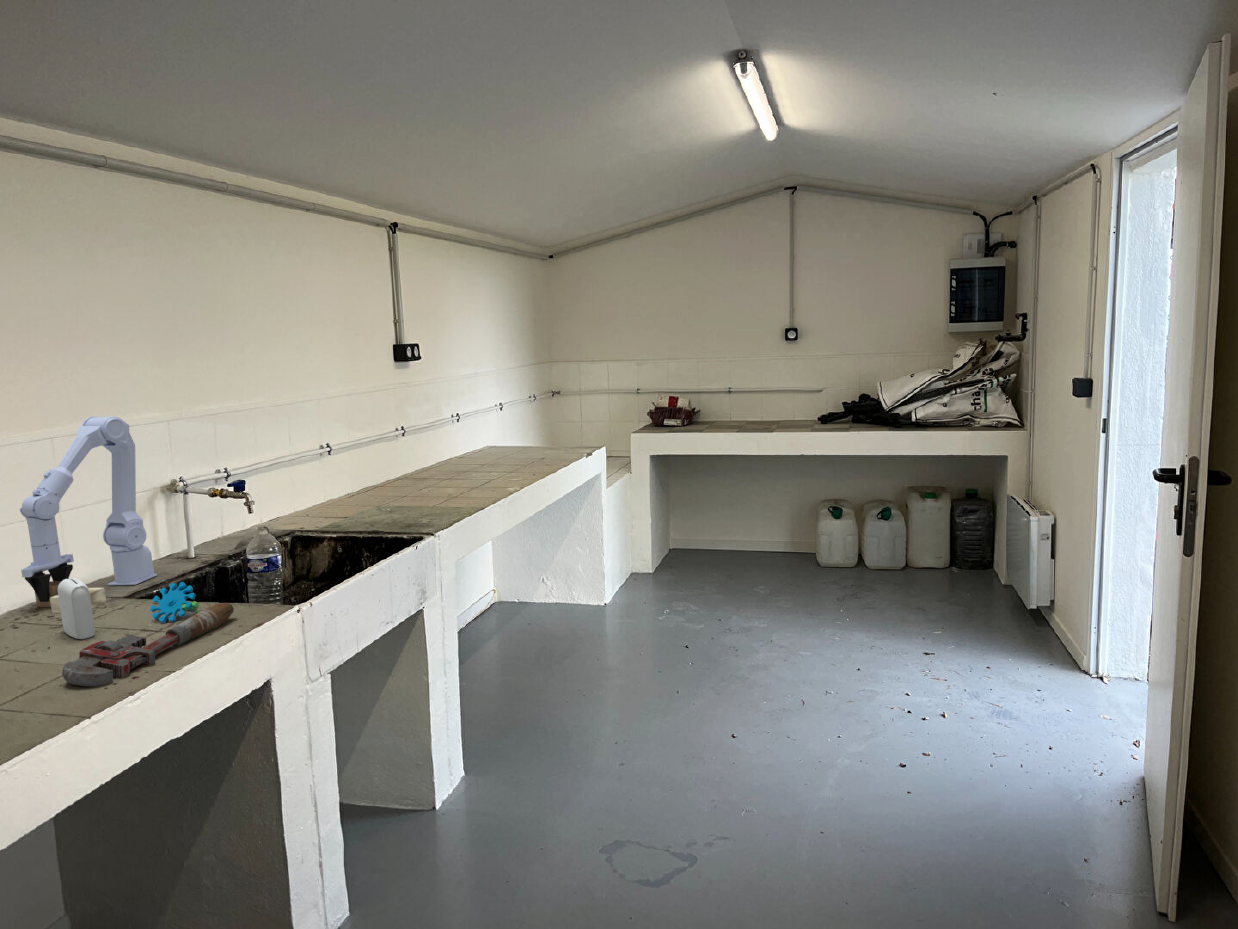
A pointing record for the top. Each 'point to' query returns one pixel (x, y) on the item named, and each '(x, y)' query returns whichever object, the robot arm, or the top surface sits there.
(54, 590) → the walnut cube
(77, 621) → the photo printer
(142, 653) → the pipe wrench
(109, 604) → the top surface
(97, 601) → the birch block
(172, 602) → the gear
